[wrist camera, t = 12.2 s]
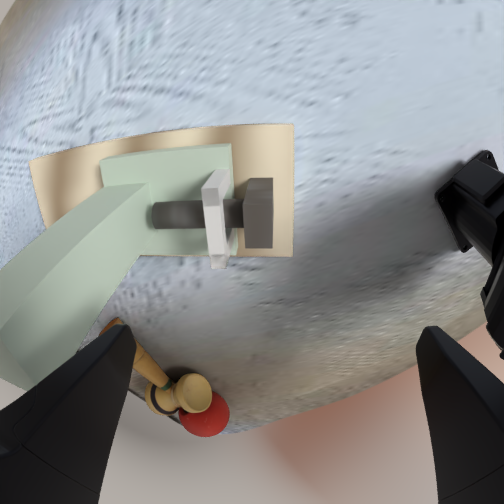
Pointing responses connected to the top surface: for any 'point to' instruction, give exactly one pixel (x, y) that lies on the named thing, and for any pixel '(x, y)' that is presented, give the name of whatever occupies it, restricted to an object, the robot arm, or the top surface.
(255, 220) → the board
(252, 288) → the top surface
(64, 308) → the tall sage green column
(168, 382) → the kendama
